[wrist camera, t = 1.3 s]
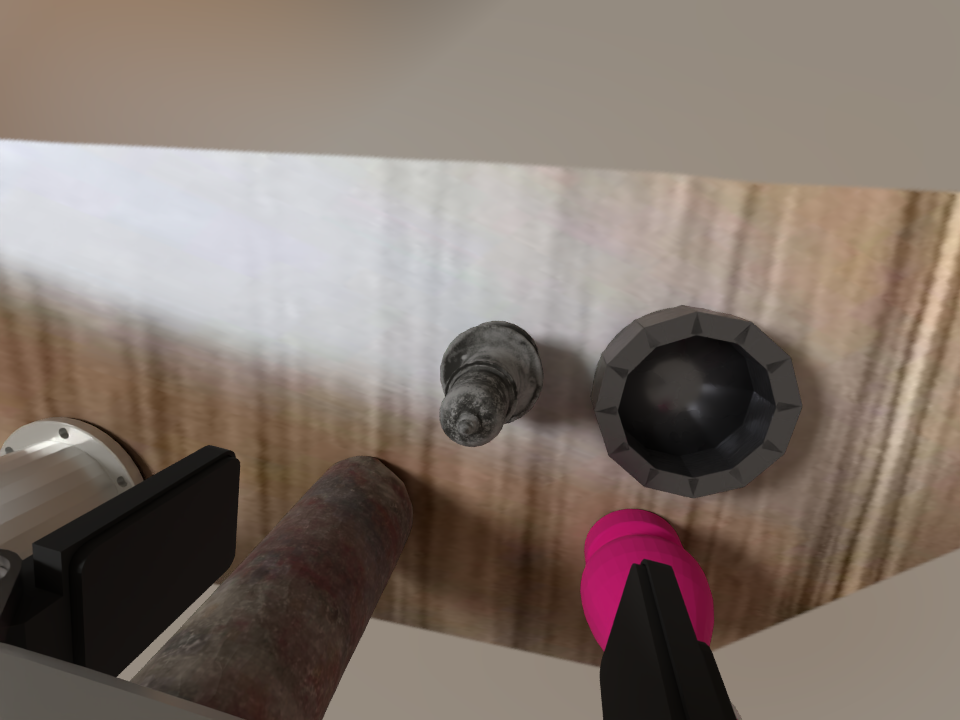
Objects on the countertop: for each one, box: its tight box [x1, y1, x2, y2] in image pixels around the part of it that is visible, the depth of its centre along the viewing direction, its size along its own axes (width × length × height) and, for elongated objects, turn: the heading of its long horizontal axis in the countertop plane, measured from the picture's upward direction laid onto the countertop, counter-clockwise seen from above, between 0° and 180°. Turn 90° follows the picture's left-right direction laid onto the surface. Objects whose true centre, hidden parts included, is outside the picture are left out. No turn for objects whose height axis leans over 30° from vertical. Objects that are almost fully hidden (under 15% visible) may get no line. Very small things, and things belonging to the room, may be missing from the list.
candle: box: [129, 456, 413, 720], centre depth 24 cm, size 8×7×20 cm
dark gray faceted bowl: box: [591, 305, 802, 498], centre depth 27 cm, size 10×10×4 cm
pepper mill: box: [580, 509, 742, 720], centre depth 22 cm, size 7×7×20 cm
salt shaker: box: [440, 321, 543, 447], centre depth 24 cm, size 6×6×12 cm
